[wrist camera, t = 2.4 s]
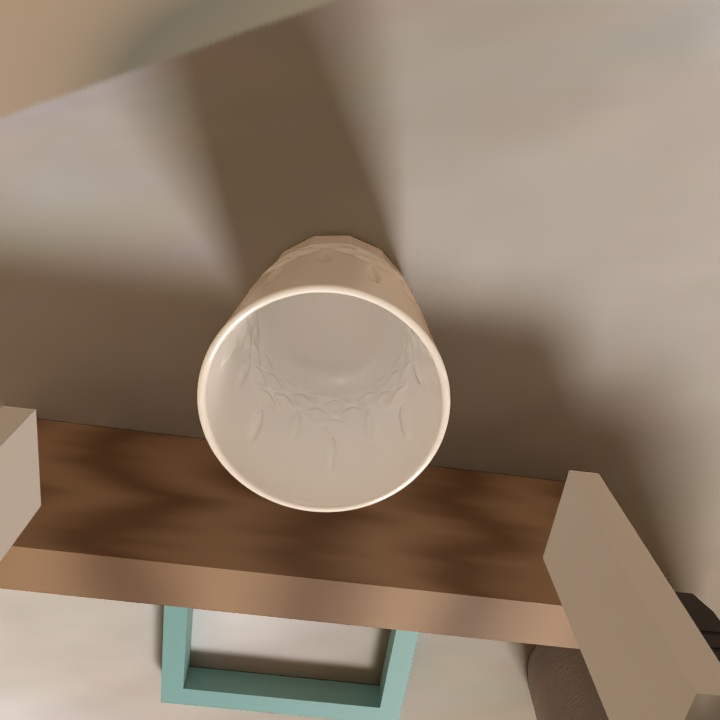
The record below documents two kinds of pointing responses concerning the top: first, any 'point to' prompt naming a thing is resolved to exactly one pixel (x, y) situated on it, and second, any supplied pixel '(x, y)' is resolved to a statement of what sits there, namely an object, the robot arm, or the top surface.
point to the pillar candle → (562, 685)
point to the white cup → (325, 381)
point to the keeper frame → (281, 681)
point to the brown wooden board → (287, 542)
